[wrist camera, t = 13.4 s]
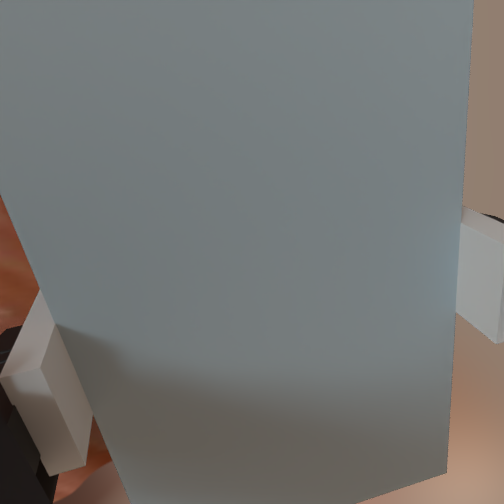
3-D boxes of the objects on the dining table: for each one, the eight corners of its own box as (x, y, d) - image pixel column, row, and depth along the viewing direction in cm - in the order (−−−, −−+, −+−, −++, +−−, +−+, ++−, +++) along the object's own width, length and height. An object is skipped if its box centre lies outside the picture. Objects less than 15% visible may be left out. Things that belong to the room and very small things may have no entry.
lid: (-11, 4, 10) (-94, -29, 7) (376, -52, 12) (480, -104, 8) (155, 464, 17) (158, 569, 13) (388, 393, 18) (446, 472, 15)
